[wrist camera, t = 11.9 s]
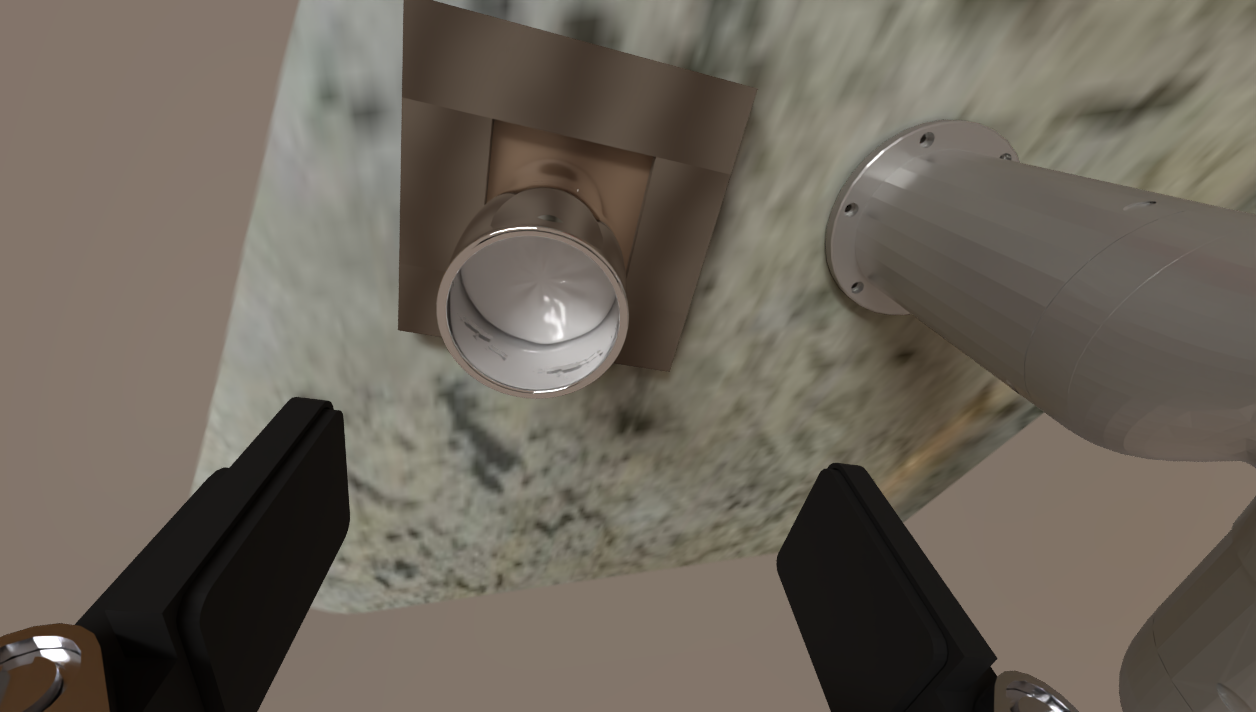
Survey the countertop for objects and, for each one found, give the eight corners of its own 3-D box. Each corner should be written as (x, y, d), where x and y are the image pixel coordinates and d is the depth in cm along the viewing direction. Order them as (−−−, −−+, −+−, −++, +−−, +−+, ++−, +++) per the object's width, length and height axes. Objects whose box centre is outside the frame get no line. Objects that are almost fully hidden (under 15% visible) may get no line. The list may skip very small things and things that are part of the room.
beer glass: (574, 286, 33) (575, 430, 20) (473, 232, 31) (398, 356, 18) (631, 190, 30) (673, 285, 17) (524, 124, 28) (480, 175, 15)
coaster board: (746, 87, 29) (757, 88, 27) (665, 357, 37) (669, 371, 36) (415, -3, 26) (403, -8, 24) (407, 316, 34) (398, 330, 32)
